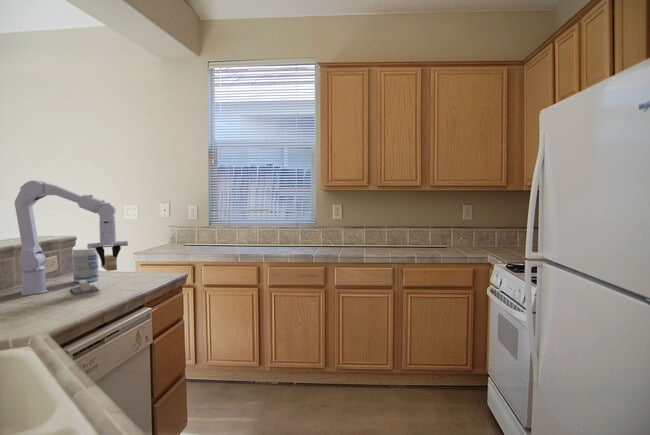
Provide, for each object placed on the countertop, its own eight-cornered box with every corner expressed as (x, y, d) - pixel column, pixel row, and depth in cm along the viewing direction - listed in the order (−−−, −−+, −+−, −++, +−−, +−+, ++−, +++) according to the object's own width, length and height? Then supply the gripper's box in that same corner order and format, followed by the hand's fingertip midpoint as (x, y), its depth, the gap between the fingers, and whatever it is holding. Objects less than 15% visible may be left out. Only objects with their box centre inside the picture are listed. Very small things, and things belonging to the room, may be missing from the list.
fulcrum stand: (70, 289, 151) (70, 281, 151) (93, 286, 156) (93, 278, 156) (74, 294, 143) (74, 286, 143) (98, 290, 149) (98, 283, 148)
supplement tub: (94, 282, 163) (92, 249, 162) (69, 283, 161) (68, 250, 160) (102, 278, 172) (100, 246, 171) (79, 279, 170) (77, 247, 169)
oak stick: (101, 266, 159) (100, 255, 158) (110, 265, 161) (109, 254, 161) (107, 270, 150) (106, 258, 149) (116, 269, 152) (116, 257, 152)
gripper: (89, 234, 147) (90, 267, 147) (129, 231, 156) (130, 263, 157) (86, 232, 152) (87, 265, 153) (125, 230, 161) (126, 261, 162)
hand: (108, 264), depth 155 cm, fingers closed on oak stick, 3 cm apart
